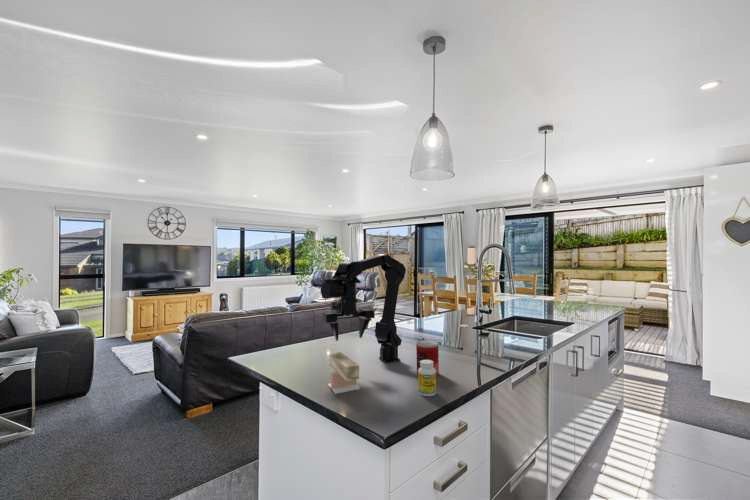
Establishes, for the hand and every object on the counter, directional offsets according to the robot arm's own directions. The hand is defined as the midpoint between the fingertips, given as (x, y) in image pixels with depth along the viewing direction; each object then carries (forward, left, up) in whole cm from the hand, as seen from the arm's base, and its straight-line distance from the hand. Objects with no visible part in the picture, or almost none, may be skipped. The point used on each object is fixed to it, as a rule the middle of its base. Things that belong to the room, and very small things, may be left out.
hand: (348, 339), depth 122 cm
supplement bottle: (-14, +29, -12) cm, 34 cm away
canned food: (-24, +15, -12) cm, 31 cm away
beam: (+7, +13, -7) cm, 16 cm away
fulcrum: (+7, +13, -12) cm, 19 cm away
